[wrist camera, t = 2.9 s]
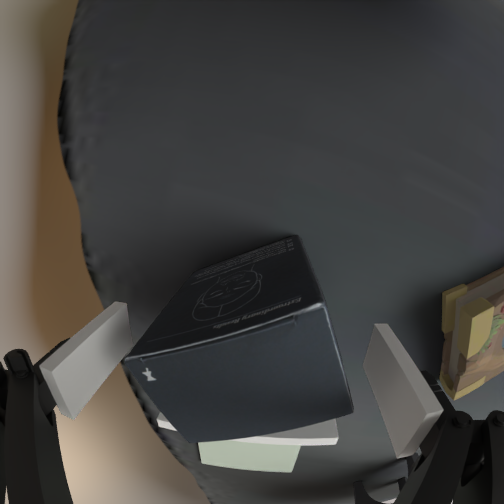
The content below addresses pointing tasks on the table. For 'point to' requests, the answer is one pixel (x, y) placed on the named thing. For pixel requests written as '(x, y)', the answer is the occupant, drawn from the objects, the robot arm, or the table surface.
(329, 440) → the handle
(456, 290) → the book
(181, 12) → the table surface
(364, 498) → the planter
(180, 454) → the table surface
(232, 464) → the pad
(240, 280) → the box
